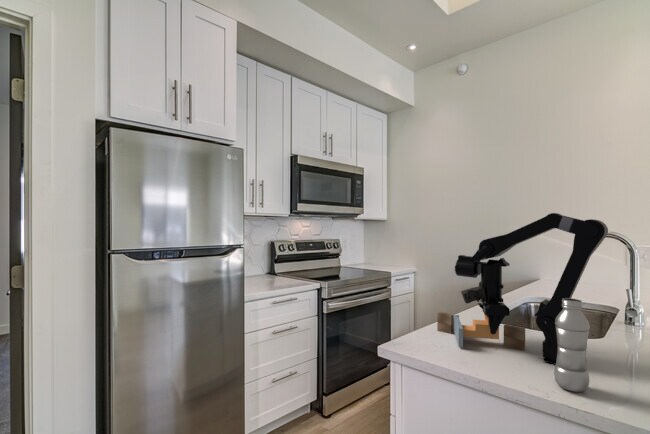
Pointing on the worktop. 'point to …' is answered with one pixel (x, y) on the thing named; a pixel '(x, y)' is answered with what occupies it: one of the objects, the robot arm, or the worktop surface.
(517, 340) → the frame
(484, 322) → the orange stepped block
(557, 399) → the worktop surface
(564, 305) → the silver bottle
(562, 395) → the worktop surface
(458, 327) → the grey piece
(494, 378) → the worktop surface
